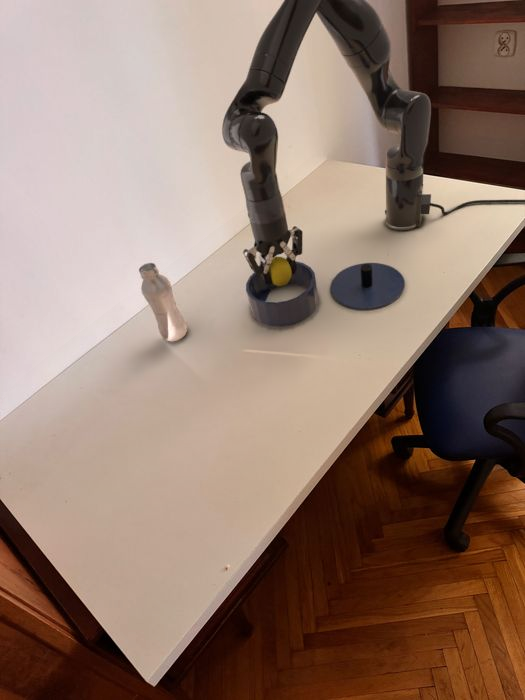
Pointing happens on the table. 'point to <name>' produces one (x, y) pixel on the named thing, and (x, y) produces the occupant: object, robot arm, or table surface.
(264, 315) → the pot
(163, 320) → the plastic bottle
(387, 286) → the pot lid
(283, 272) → the lemon
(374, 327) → the table surface
